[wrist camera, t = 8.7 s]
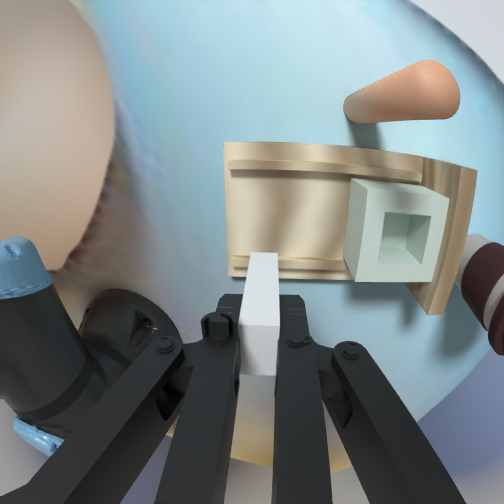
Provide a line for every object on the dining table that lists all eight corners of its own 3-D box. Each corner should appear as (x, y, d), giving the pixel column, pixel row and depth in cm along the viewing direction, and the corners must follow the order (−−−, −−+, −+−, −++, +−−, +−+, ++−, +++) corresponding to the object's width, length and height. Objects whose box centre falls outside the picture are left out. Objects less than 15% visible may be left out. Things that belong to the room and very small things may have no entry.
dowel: (343, 122, 24) (410, 112, 10) (343, 91, 23) (408, 52, 9) (373, 125, 24) (460, 125, 10) (373, 95, 22) (458, 69, 9)
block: (342, 255, 28) (355, 281, 23) (350, 178, 25) (367, 189, 20) (409, 257, 27) (431, 281, 22) (421, 185, 24) (449, 198, 19)
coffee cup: (483, 288, 29) (539, 352, 16) (432, 296, 31) (487, 376, 17) (498, 222, 25) (572, 273, 12) (445, 223, 27) (526, 286, 13)
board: (229, 271, 32) (215, 313, 24) (226, 142, 26) (204, 145, 18) (413, 275, 30) (442, 314, 22) (433, 158, 24) (477, 170, 17)
